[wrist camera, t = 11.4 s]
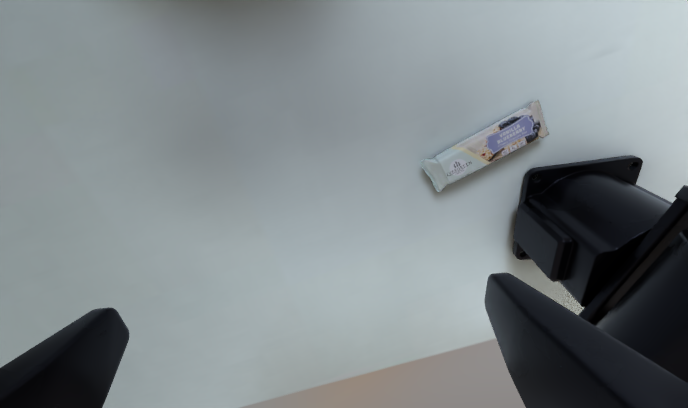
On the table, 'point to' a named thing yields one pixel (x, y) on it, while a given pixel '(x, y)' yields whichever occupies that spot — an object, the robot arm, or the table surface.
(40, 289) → the table surface
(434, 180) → the granola bar
